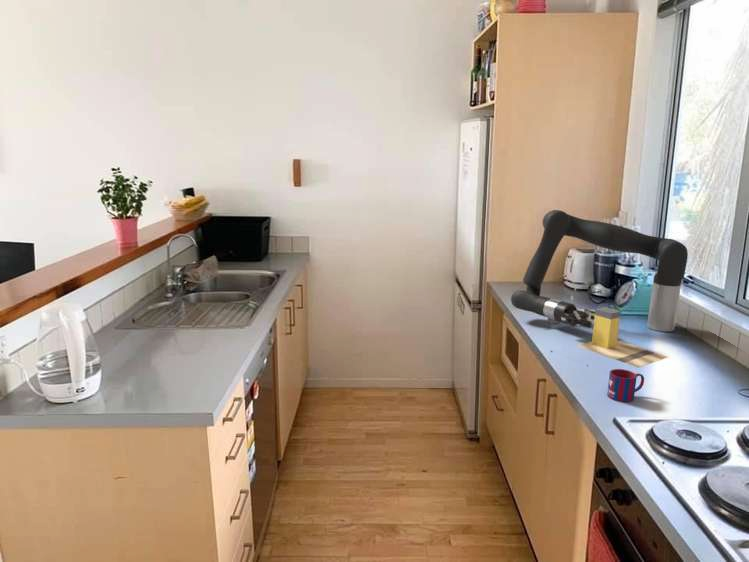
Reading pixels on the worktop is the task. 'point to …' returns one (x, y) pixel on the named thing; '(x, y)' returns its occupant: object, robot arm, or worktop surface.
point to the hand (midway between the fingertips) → (598, 322)
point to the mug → (623, 385)
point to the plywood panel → (626, 353)
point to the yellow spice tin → (606, 327)
